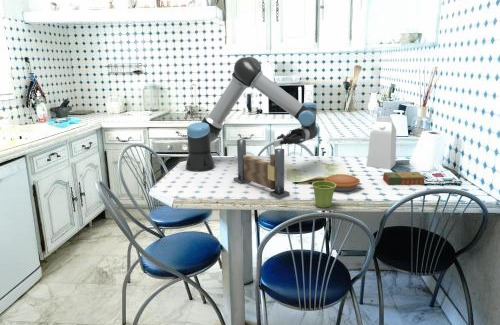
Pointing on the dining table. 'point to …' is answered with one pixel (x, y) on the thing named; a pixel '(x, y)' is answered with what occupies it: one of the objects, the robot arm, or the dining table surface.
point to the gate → (258, 170)
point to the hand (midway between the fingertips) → (275, 143)
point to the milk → (382, 144)
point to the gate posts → (273, 171)
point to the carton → (403, 178)
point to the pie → (343, 182)
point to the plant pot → (323, 193)
